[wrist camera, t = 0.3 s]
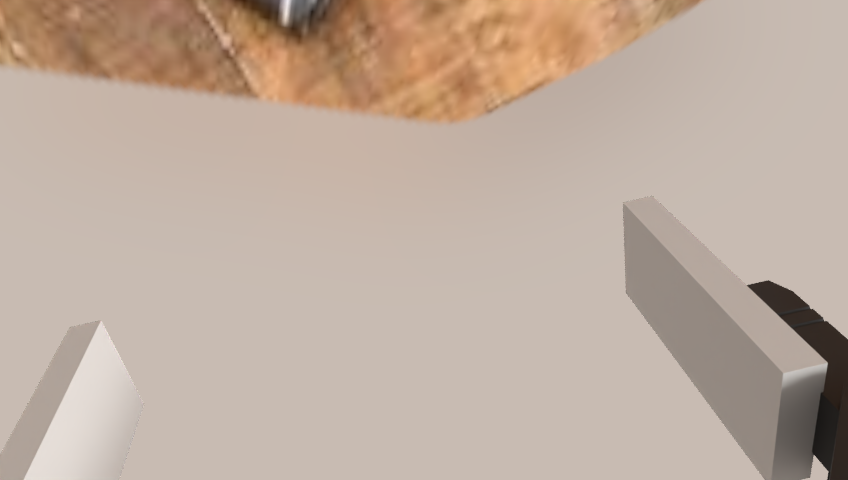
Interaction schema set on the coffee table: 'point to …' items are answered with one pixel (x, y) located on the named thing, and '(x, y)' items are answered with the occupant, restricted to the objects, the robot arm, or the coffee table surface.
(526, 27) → the coffee table surface
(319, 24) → the coffee table surface
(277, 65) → the coffee table surface
